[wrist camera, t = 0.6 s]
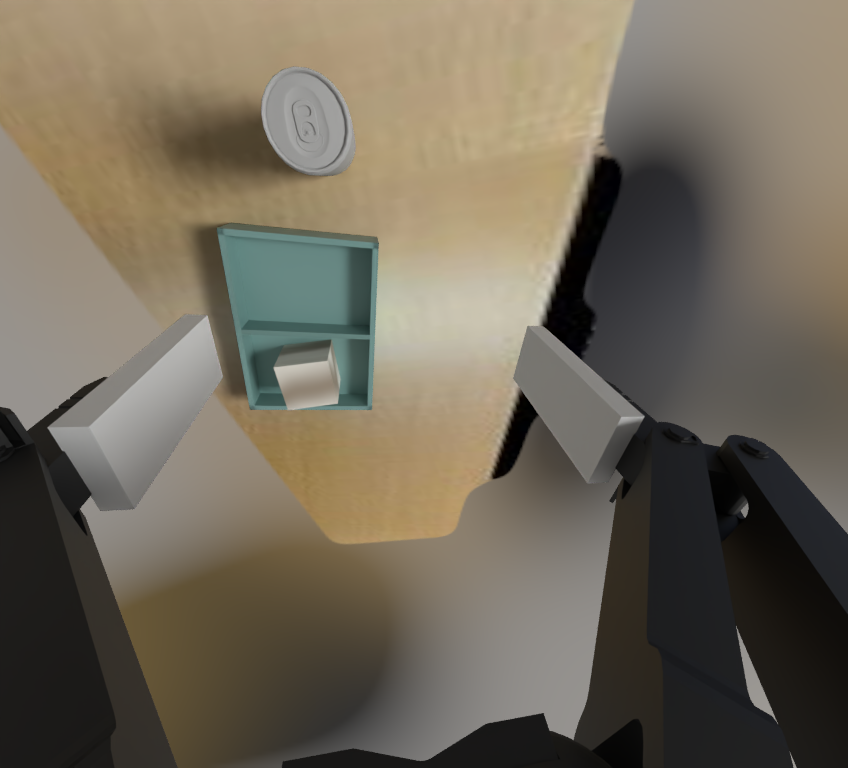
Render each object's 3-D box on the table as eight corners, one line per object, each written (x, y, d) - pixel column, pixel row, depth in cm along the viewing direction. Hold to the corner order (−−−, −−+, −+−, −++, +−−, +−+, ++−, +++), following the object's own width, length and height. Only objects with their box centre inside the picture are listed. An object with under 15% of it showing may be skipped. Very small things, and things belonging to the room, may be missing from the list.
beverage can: (305, 178, 29) (275, 180, 19) (288, 107, 27) (243, 66, 17) (360, 172, 30) (359, 171, 20) (349, 102, 27) (341, 59, 17)
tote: (230, 222, 30) (216, 227, 27) (377, 237, 33) (378, 243, 30) (258, 392, 39) (250, 409, 36) (371, 393, 42) (371, 409, 39)
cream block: (283, 345, 36) (273, 367, 32) (331, 339, 36) (327, 360, 32) (296, 384, 38) (288, 410, 34) (340, 378, 39) (337, 403, 35)
